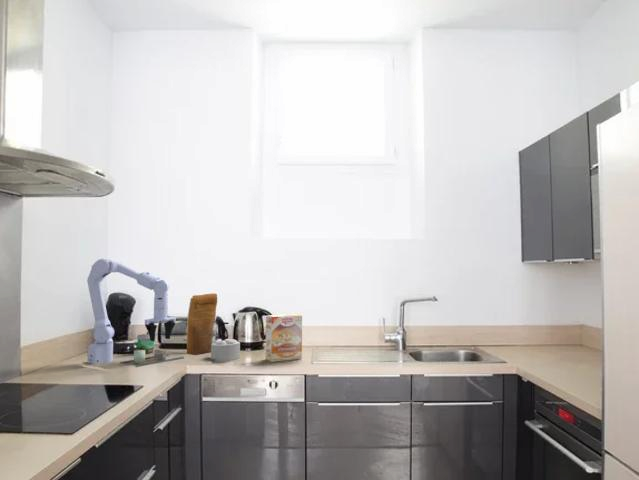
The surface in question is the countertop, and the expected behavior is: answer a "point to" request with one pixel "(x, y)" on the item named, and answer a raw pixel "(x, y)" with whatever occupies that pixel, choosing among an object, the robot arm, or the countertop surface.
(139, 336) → the food container
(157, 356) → the brown piece
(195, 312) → the pancake mix bag
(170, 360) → the track
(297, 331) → the coffeecake box
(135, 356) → the tapered cylinder
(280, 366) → the countertop surface
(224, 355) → the lumpy-topped squat cylinder
